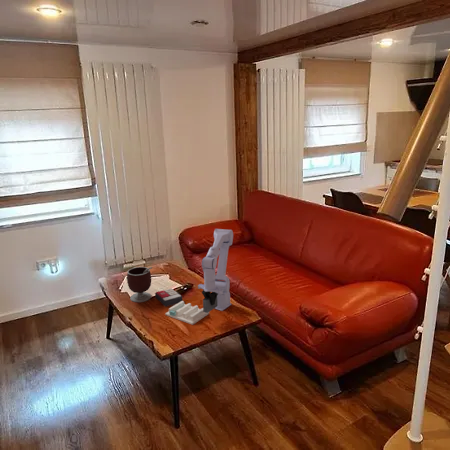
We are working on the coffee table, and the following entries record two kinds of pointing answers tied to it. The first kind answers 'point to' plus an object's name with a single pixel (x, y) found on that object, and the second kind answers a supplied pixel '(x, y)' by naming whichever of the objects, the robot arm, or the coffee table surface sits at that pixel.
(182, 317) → the rack
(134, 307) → the coffee table surface
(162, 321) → the coffee table surface
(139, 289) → the mate gourd
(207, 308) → the panel
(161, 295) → the calculator
